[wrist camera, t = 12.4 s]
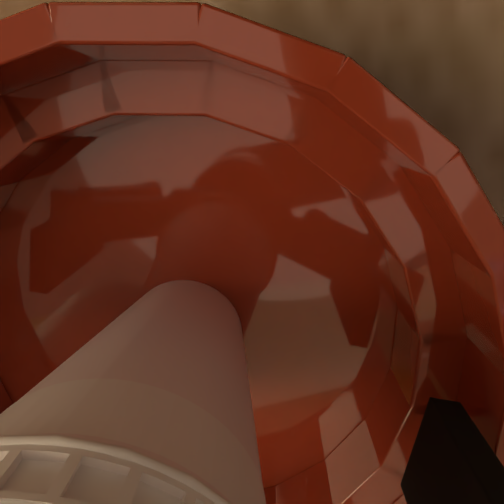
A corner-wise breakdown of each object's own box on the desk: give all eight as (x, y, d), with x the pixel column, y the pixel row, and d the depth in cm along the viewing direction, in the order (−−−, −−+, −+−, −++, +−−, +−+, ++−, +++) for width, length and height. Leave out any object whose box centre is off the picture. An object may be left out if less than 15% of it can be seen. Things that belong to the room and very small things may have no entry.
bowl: (562, 279, 14) (714, 361, 9) (243, 586, 18) (234, 750, 14) (101, -97, 12) (-19, -252, 7) (-141, 363, 16) (-317, 468, 11)
